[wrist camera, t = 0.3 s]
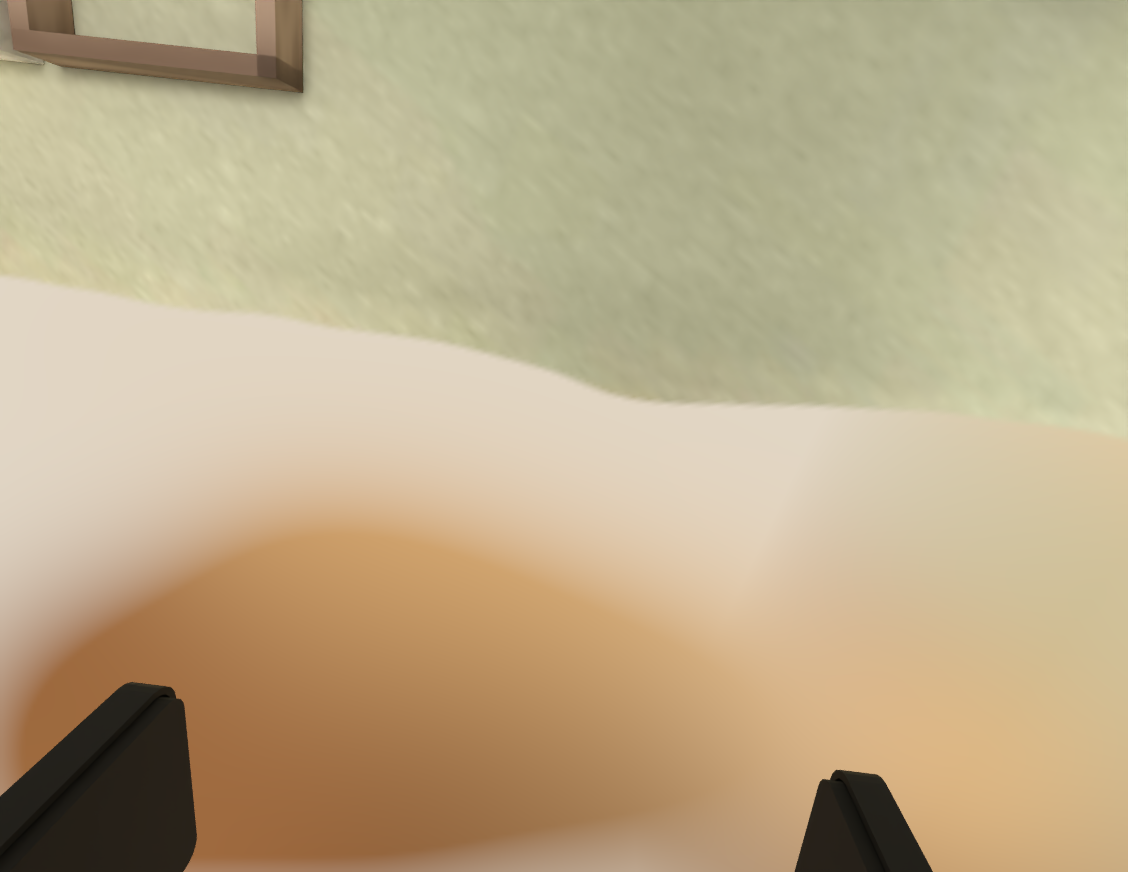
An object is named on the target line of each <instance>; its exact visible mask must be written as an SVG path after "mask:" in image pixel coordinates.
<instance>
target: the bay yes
mask: <svg viewBox="0 0 1128 872" xmlns="http://www.w3.org/2000/svg"><path fill="white" fill-rule="evenodd" d="M0 60H7V61H16V62H25V63H35V64H44V61H43V60H41V59H38V58H35V57H33V56H30V55H27V54H24V53H21V52H18V51H15V50H13V43H12V36H11V28H10V20H9V12H8V5H7V0H0Z"/></svg>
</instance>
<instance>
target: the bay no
mask: <svg viewBox="0 0 1128 872" xmlns="http://www.w3.org/2000/svg"><path fill="white" fill-rule="evenodd" d="M7 5H8V12H9V20H10V28H11V36H12V43H13V50H15V51H18V52H21V53H24V54H27V55H30V56H33V57H35V58H38V59H41V60H44V61H47V62H50V63H53V64H56V65H59V66H62V67H72V68H81V69H90V70H99V71H108V72H118V73H127V74H136V75H145V76H155V77H164V78H173V79H182V80H192V81H201V82H210V83H219V84H228V85H238V86H247V87H256V88H265V89H275V90H284V91H293V92H302V93H303V52H302V0H255V11H256V44H257V54H248V53H239V52H230V51H220V50H211V49H202V48H192V47H183V46H174V45H164V44H155V43H146V42H136V41H127V40H118V39H108V38H99V37H90V36H80V35H75V33H74V23H73V14H72V4H71V0H7Z"/></svg>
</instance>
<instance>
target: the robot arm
mask: <svg viewBox="0 0 1128 872" xmlns="http://www.w3.org/2000/svg"><path fill="white" fill-rule="evenodd" d="M184 709H185V708H184V703H183V701H182V700H181V699H176V695H175V692H174V690H173V689H172V688H171V687H166V686H159V685H151V684H143V683H134V682H130V683H127V684H124V685H123V686H122V687H120V688H119V689H118V690H116V691H115V692H114V693H113V694H112V695H111V696H110V697H109V698H108V699H107V700H105V701H104V702H103V703H102V704H101V705H100V706H99V707H98V708H97V709H96V710H94V711H93V712H92V713H91V714H90V715H89V716H88V717H87V718H86V719H85V720H83V721H82V722H81V723H80V724H79V725H78V726H77V727H76V728H75V729H74V730H73V731H71V732H70V733H69V734H68V735H67V736H66V737H65V738H64V739H63V740H62V741H61V742H59V743H58V744H57V745H56V746H55V747H54V748H53V749H52V750H51V751H50V752H48V753H47V754H46V755H45V756H44V757H43V758H42V759H41V760H40V761H39V762H37V763H36V764H35V765H34V766H33V767H32V768H31V769H30V770H29V771H28V772H26V773H25V774H24V775H23V776H22V777H21V778H20V779H19V780H18V781H17V782H16V783H14V784H13V785H12V786H11V787H10V788H9V789H8V790H7V791H6V792H5V793H3V794H2V795H1V796H0V872H183V871H184V870H185V868H186V866H187V865H188V863H189V861H190V859H191V857H192V855H193V852H194V848H195V845H196V840H197V838H196V837H197V833H196V822H195V812H194V802H193V791H192V781H191V770H190V760H189V750H188V739H187V730H186V720H185V719H186V718H185V710H184ZM795 872H933V871H932V869H931V867H930V866H929V864H928V862H927V860H926V858H925V856H924V855H923V852H922V851H921V849H920V847H919V845H918V843H917V841H916V839H915V838H914V836H913V834H912V832H911V830H910V828H909V826H908V824H907V822H906V821H905V819H904V817H903V815H902V813H901V811H900V809H899V807H898V806H897V804H896V802H895V800H894V798H893V796H892V794H891V792H890V790H889V789H888V787H887V785H886V783H885V782H884V780H883V779H882V778H881V777H880V776H878V775H876V774H868V773H860V772H852V771H844V770H836V771H835V772H834V773H833V774H832V776H831V778H830V780H826V779H822V781H820V784H819V786H818V789H817V793H816V797H815V800H814V804H813V807H812V811H811V815H810V818H809V822H808V826H807V829H806V833H805V836H804V840H803V843H802V847H801V851H800V854H799V858H798V861H797V865H796V869H795Z"/></svg>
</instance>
